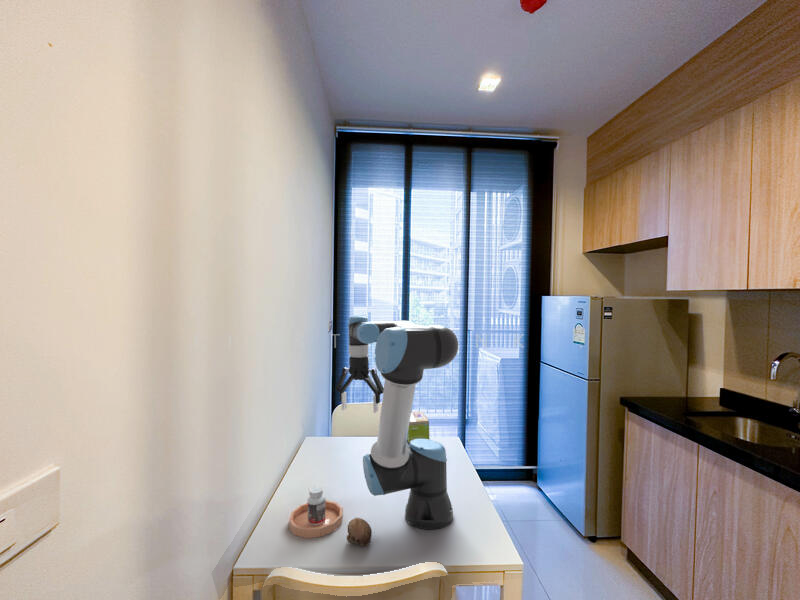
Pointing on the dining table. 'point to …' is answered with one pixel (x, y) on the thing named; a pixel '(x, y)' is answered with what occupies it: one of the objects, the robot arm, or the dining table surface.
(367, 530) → the mushroom
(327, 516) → the bowl
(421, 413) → the tea box
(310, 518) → the pill bottle
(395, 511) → the dining table surface
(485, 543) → the dining table surface
